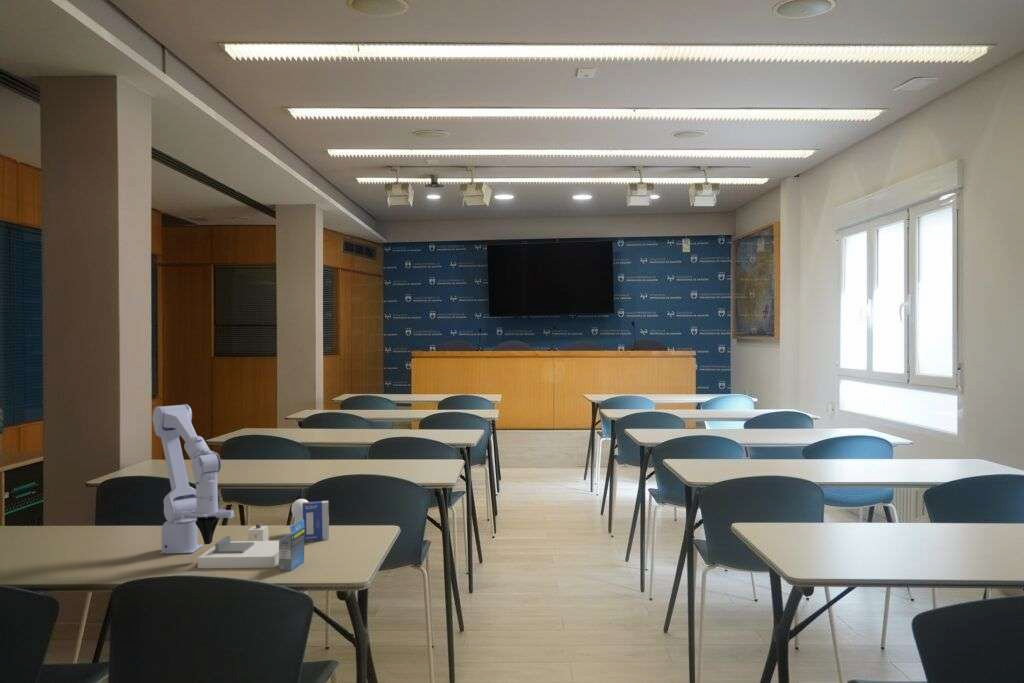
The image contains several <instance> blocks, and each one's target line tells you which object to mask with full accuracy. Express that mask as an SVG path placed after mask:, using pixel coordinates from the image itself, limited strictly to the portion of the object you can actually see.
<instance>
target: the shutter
mask: <svg viewBox="0 0 1024 683" xmlns="http://www.w3.org/2000/svg"><path fill="white" fill-rule="evenodd" d="M230 541H231V536H230V535H226V536H224V537H222V539H220V540H219V541H217V542H215V544H214V546H215V550H214V551H213V553H244V552H245V551H246V550H247V549H249V548H250V547H251V546H253V545H254V542H240V543H230Z"/></svg>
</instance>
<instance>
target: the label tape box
mask: <svg viewBox="0 0 1024 683" xmlns="http://www.w3.org/2000/svg"><path fill="white" fill-rule="evenodd" d="M297 526H300V528H297ZM289 528H290V533H289V534H287V535H286V536H284V537H283V538H281V539H279V540H278V541H279V562H278V571H283V572H291V571H293V570H295V569H296V568H298V566H300V565H301V564H302V563H304V562H305V541H304V528H305V526H304V519H302V520H301V521H299V522H297V523H293V524H291V525H290V526H289ZM296 528H297V529H296Z"/></svg>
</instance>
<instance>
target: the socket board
mask: <svg viewBox="0 0 1024 683" xmlns="http://www.w3.org/2000/svg"><path fill="white" fill-rule="evenodd" d="M240 542H254V545H253V546H251V547H250V548H249V549H247V550H246V551H245V552H244V553H213V551H214V550H215V545H214V546H212V547H211V548H209V549H208V550H206V551H205V552H204V553H202V554H200V555H199V556H197V569H241V568H242V569H244V568H245V569H246V568H248V569H250V568H251V569H252V568H254V569H255V568H263V569H264V568H274V567H275V566H276V565H278V564H279V540H268V541H249V540H247V541H246V540H242V541H241V540H236V541H234V540H233V541H231V540H230V543H240Z"/></svg>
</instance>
